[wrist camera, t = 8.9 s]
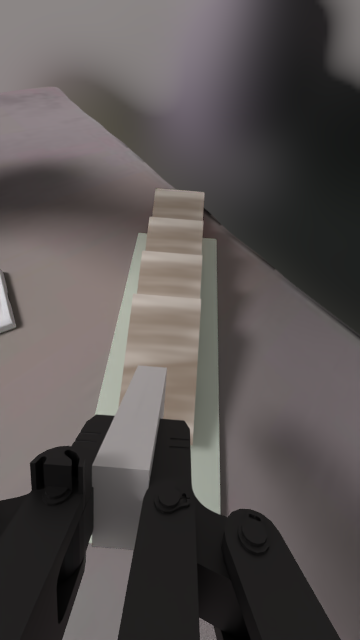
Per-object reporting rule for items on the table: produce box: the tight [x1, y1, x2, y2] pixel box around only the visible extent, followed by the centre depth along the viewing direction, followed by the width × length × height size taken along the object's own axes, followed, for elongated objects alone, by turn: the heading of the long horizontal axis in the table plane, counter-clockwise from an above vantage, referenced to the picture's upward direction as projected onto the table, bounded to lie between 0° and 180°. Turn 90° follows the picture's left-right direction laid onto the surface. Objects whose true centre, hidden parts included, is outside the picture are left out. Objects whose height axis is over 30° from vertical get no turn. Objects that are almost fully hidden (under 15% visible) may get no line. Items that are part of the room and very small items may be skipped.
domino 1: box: [152, 188, 204, 221], centre depth 28 cm, size 2×6×11 cm
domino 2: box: [145, 217, 204, 255], centre depth 25 cm, size 2×6×11 cm
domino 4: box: [118, 294, 201, 445], centre depth 20 cm, size 2×6×11 cm
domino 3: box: [137, 251, 203, 299], centre depth 23 cm, size 2×6×11 cm
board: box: [89, 233, 220, 543], centre depth 24 cm, size 30×10×1 cm, turn 176°
